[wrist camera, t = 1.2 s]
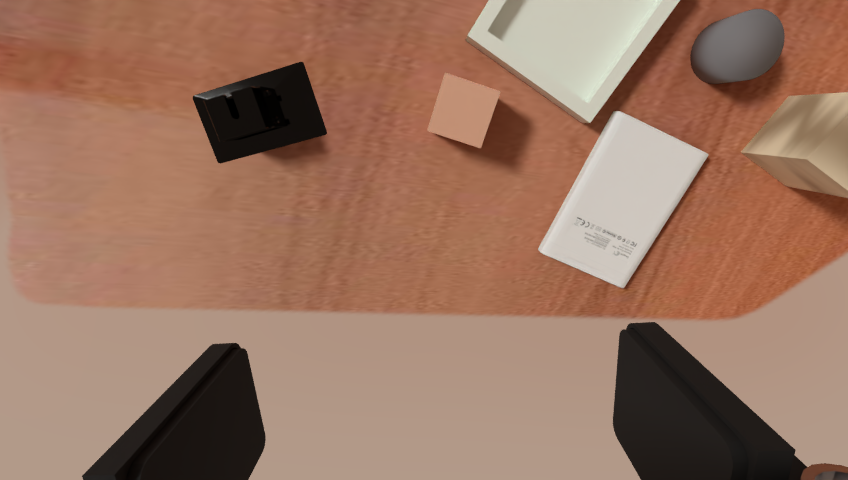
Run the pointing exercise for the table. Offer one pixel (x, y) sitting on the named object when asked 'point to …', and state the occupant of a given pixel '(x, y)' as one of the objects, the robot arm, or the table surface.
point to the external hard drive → (621, 199)
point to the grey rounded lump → (738, 47)
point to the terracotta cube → (463, 110)
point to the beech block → (806, 143)
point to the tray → (569, 45)
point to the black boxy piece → (260, 113)
